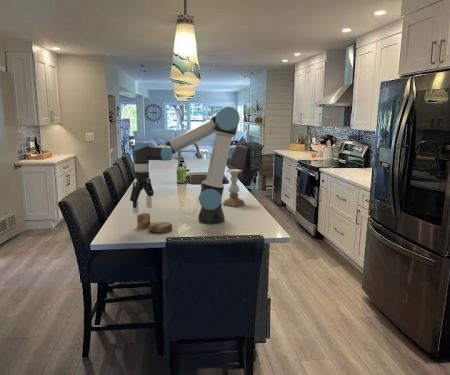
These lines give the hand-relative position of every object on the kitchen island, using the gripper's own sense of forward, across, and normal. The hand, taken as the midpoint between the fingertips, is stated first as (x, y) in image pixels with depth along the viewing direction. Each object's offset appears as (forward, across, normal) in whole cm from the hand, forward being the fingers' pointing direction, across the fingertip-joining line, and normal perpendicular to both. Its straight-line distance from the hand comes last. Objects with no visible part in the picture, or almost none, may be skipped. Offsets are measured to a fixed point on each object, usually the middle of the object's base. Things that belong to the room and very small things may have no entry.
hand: (142, 210), depth 198 cm
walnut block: (+9, 0, +1) cm, 9 cm away
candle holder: (+8, -65, +32) cm, 73 cm away
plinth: (+9, +2, +12) cm, 15 cm away
